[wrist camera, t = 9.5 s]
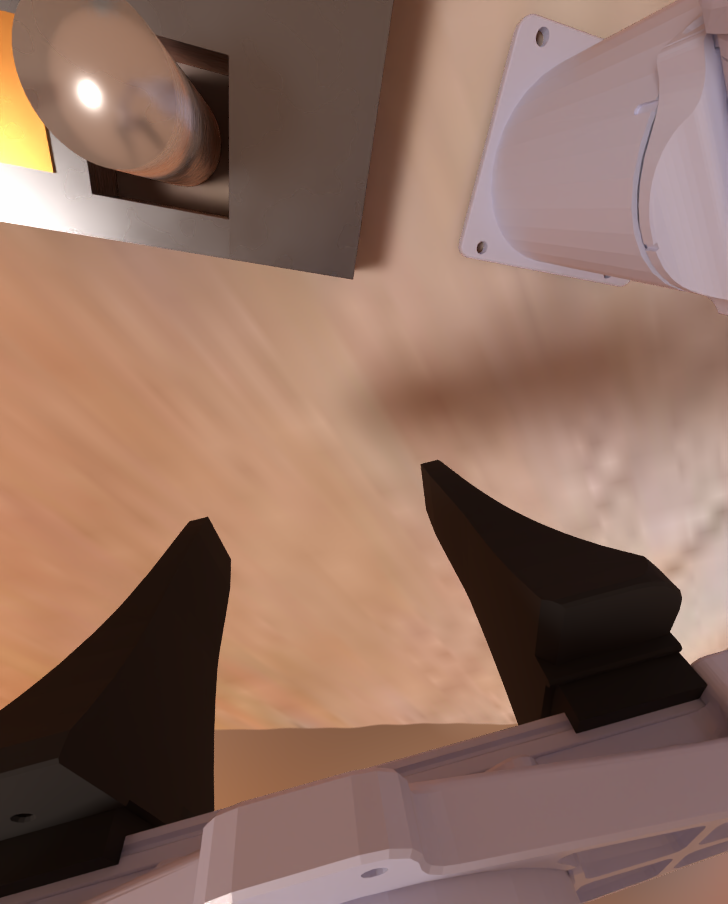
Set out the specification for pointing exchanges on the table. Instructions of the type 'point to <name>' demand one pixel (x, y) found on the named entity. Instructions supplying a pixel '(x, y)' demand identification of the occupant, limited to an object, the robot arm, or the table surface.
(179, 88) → the steel peg
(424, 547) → the table surface
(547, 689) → the robot arm
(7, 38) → the plate
